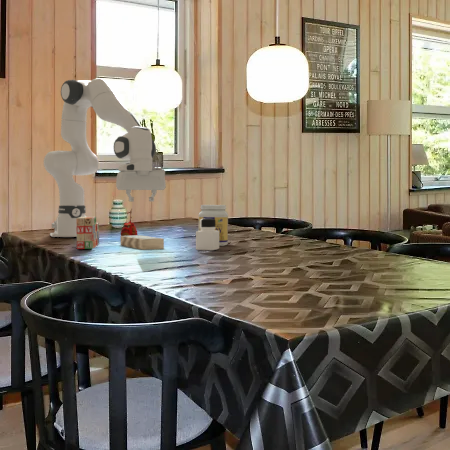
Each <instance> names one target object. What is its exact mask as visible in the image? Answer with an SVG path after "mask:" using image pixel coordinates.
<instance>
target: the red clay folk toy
mask: <svg viewBox="0 0 450 450" xmlns="http://www.w3.org/2000/svg"><path fill="white" fill-rule="evenodd" d="M132 210H133V208H131V209H130V211H126V214H129V222H124V223H123V227H122V229H121V230H120V237H121V236H132V235H138V230H137V226H135V223H134V222H132Z"/></svg>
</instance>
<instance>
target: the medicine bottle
mask: <svg viewBox="0 0 450 450" xmlns="http://www.w3.org/2000/svg"><path fill="white" fill-rule="evenodd" d="M200 229H201V231H199V230H196V231H195V250H196V251H215V250H219V249H220V246H219V231H217V230H215V219H212V218H204V219H201V220H200Z"/></svg>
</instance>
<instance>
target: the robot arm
mask: <svg viewBox="0 0 450 450" xmlns="http://www.w3.org/2000/svg"><path fill="white" fill-rule="evenodd" d="M60 96H61V99H62V100H63V106H62V110H61V122H60V123H61V125H60V137H61V139H62V140H63V141H65V142H66V143H68V144H69V145H70V148H71V150H53V151H49V152H47V153H46V154H45V156H44V158H43V167H44V169H45V171H46V172H47V173H48V174H49V175H51V177H52V178H53V179H54V180H55V182H56V184H57V187H58V194H59V205H58V208H57V209H58V216H57V217H56V219H55V220H54V222H51V228H52V229H53V230H54V232H50V233H49V236H51V237H52V238H55V237H57V238H59V237H60V238H74V237H76V238H77V230H76V228H77V223H76V218H79V217H88V216H87V215H86V210H87V208H86V204H85V189H84V187H83V186H82V185H81V184H79V183H77V182H76V181H75V179H74V176H89V175H90V176H91V175H94V174H95V173H96V172H97V171H98V170H99V166H100V161H99V157H98V156H97V155H96V153H94V152H93V151H92V150H91V148H90V146H89V144H88V139H87V118H88V115H87V113H88V109H89V108H93V111H94V113H95V114H96V115H97V116H98V118H99V119H101V120H102V121H105V122H108V123H111V124H114V125H116V126H118V127H121V128H123V129H124V130H125V131H126V132H127V133H125V134H123V135H121V136H120V135H119V136H118V137H117V138H116V139H115V140H114V142H113V153H114V154H115V156H116V158H118V159H120V160H129V162H128V163H125V164H122V165H119V166H118V167H117V168H118V171H119V172H117V175H116V182H115V187H116V189H117V191H125V194H126V196H127V197H128V202H135V201H134V199H135V197H134V196H132V195H131V193H132V191H151V195H150V196H149V197H148V201H149V202H154V201H155V197H156V195H157V192H158V191H159V190H160V191H164V190H165V189H166V187H167V185H166V179H165V176H166V170H165V169H164V168H162V167H161V166H158V167H156V166H153V159H154V156H155V155H156V152H157V147H156V143H155V141H154V140H153V138H152V133H151V130H150V129H149V128H148V127H146V126H141V125H140V122H138V120H137V119H136V118H135V116H134V115H133V114H132V113H131V111H130V110H129V109H128V108H126V107H125V106H124V105H123V103H122V102H121V101H120V100H119V98H118V97H117V95H116V94H115V92H114V90H113V88H112V87H111V85H110V84H109V83H108V82H107V81H106V80H105V79H104V78H100V77H97V78H93V79H91V80H87V79H86V80H76V79H68V80H65V81H64V83H62V85H61V87H60Z"/></svg>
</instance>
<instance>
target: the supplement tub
mask: <svg viewBox="0 0 450 450" xmlns="http://www.w3.org/2000/svg"><path fill="white" fill-rule="evenodd" d="M226 209H227V205H226V204H200V210H201V211H200V212H199V213H198V231H201V229H200V220H201V219H204V218H212V219H215V230H217V231H219V247H223V246H227V245H228V243H229V242H228V240H229V239H228V238H229V237H228V236H229V233H228V232H229V214H228V212H227V211H226Z"/></svg>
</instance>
